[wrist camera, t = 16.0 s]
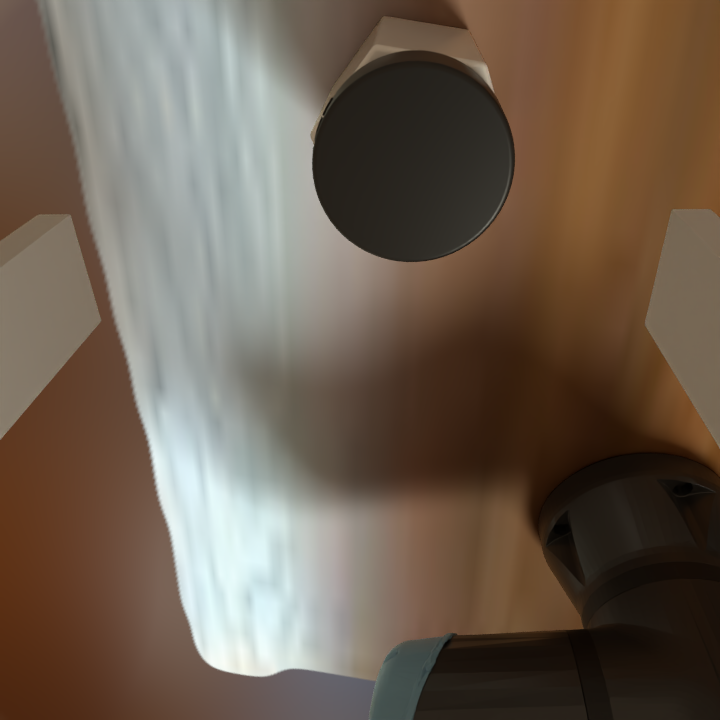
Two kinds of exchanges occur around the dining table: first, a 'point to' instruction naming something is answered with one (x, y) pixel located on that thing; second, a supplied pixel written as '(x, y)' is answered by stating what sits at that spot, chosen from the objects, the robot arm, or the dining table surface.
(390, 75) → the jar
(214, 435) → the dining table surface
